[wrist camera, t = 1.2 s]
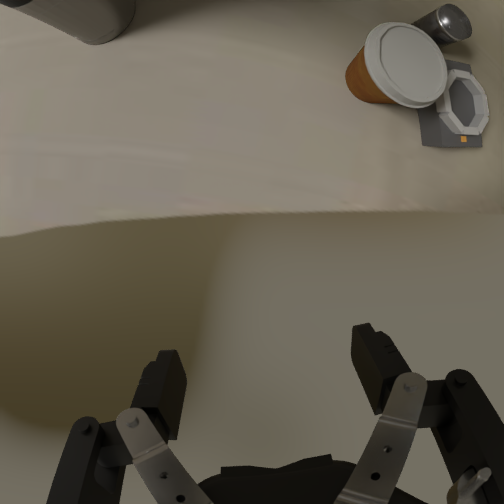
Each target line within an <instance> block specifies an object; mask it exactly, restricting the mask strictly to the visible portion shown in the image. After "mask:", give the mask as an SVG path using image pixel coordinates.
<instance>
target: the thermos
mask: <svg viewBox="0 0 504 504" xmlns="http://www.w3.org/2000/svg"><path fill="white" fill-rule="evenodd" d="M411 25H414V26H415V27H417V28H419V29H421V30H422V31H424V32H425V33H426V34H427V35H428V36H430V37H431V38H432V40H433V41H434V42H435V43H436V44H437V46H438V47H439V48H440V47H443V46H446V45H449V44H451V43H454V42H457V41H461V40H464V39H466V38H469V37H470V36H471V34H472V27H471V24H470V21H469V19H468V18H467V16H466V15H465V14H464V12H463V11H462V10H460V9H459V8H458V7H456V6H455V5H452V4H446V5H444V6H441V7H439V8H438V9H436V10H435V11H433V12H431V13H429V14H427V15H426V16H424V17H422V18H420V19H419V20H417V21H415V22H414V23H412V24H411Z"/></svg>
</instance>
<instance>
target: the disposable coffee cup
mask: <svg viewBox="0 0 504 504" xmlns="http://www.w3.org/2000/svg"><path fill="white" fill-rule="evenodd" d="M345 78H346V83H347V86H348V88H349V90H350V91H351V92H352V94H353V95H354V96H355V97H357V98H358V99H360V100H362V101H364V102H368V103H393V104H394V103H395V104H401V105H403V106H407V107H411V108H424V107H427V106H429V105H431V104H433V103H434V102H435V101H436V100H437V99H438V98H439V96H440V95H441V94H442V93H443V91H444V89H445V87H446V83H447V67H446V62H445V60H444V57H443V54H442V53H441V51H440V49H439V47H438V46H437V44H436V43H435V42H434V41H433V40H432V38H431V37H430V36H428V35H427V34H426V33H425V32H424V31H422V30H421V29H419V28H417V27H415V26H414V25H410V24H407V23H403V22H401V23H398V22H387V23H382V24H380V25H378V26H376V27H375V28H374V29H373V30H372V31H371V32H370V33H369V34H368V36H367V39H366V42H365V45H364V47H363V48H362V49H361V50H360V52H359V53H358V54H357V55H356V57H355V58H354V59H353V61H352V62H351V63H350V64H349V66H348V67H347V70H346V75H345Z"/></svg>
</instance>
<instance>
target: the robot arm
mask: <svg viewBox="0 0 504 504" xmlns="http://www.w3.org/2000/svg"><path fill="white" fill-rule="evenodd" d="M0 4H3V5H5V6H8V7H11V8H13V9H16V10H18V11H20V12H23V13H25V14H27V15H30V16H32V17H34V18H36V19H38V20H41V21H43V22H45V23H47V24H49V25H51V26H53V27H55V28H57V29H59V30H61V31H63V32H65V33H67V34H69V35H71V36H73V37H75V38H76V39H78V40H80V41H82V42H84V43H87V44H90V45H97V44H102V43H105V42H108V41H110V40H112V39H113V38H115V37H116V36H118V35H119V34H120V33H121V32H122V31H123V30H124V29H125V28H126V27H127V26H128V25H129V23H130V21H131V20H132V17H133V15H134V11H135V2H134V0H0ZM351 358H352V362H353V365H354V367H355V370H356V372H357V374H358V377H359V379H360V381H361V383H362V386H363V388H364V390H365V393H366V395H367V397H368V400H369V402H370V404H371V407H372V409H373V412H374V414H375V415H378V414H382V416H381V417H380V418H379V420H378V422H377V424H376V426H375V429H374V431H373V433H372V435H371V437H370V440H369V442H368V444H367V446H366V448H365V450H364V452H363V454H362V456H361V458H360V459H359V461H358V463H357V465H356V464H354V463H350V462H346V461H338V460H332V456H331V454H328V455H323V456H317V457H312V458H306V459H302V460H300V461H297V462H295V463H292V464H289V465H286V466H283V467H280V468H276V469H273V468H264V467H255V466H233V467H221V474H217V475H214V476H211V477H210V478H207V479H205V480H203V481H202V482H200V483H199V484H196V482H195V481H194V480H193V479H192V478H191V476H190V475H189V474H188V473H187V471H186V470H185V468H184V467H183V466H182V465H181V463H180V462H179V461H178V459H177V458H176V457H175V455H174V454H173V452H172V451H171V450H170V449H169V447H168V446H167V444H168V440H177V435H178V429H179V424H180V418H181V413H182V408H183V402H184V397H185V391H186V386H187V378H186V374H185V371H184V368H183V366H182V363H181V360H180V357H179V355H178V352H177V350H161V351H159V353H158V356H157V359H156V361H152V362H150V363H149V364H148V365H147V366H146V367H145V368H144V370H143V373H142V376H141V379H140V381H139V385H138V387H137V390H136V392H135V395H134V398H133V401H132V404H131V407H130V408H129V409H126V410H125V411H123V412H121V413H120V414H119V416H118V418H117V420H115V421H112V422H106V423H101V424H99V422H98V421H97V420H96V419H95V418H93V417H82V418H80V419H78V420H77V421H76V422H75V423H74V425H73V426H72V429H71V431H70V434H69V437H68V439H67V442H66V445H65V448H64V450H63V453H62V456H61V459H60V462H59V465H58V468H57V471H56V474H55V477H54V480H53V483H52V486H51V489H50V493H49V496H48V500H47V503H46V504H119V502H120V496H121V490H122V485H123V479H124V474H125V469H126V465H129V464H134V465H135V467H136V469H137V471H138V472H139V474H140V476H141V478H142V479H143V481H144V483H145V484H146V486H147V487H148V489H149V491H150V492H151V494H152V495H153V497H154V498H155V500H156V501H157V503H158V504H428V503H425V502H423V501H421V500H419V499H418V498H415V497H414V496H412V495H410V494H408V493H406V492H404V491H402V490H401V489H399V488H397V487H395V486H396V484H397V482H398V479H399V477H400V474H401V472H402V470H403V467H404V464H405V462H406V459H407V457H408V453H409V451H410V448H411V445H412V442H413V439H414V436H415V433H416V430H417V428H428V427H430V428H431V431H432V433H433V435H434V437H435V440H436V442H437V445H438V447H439V449H440V452H441V454H442V456H443V459H444V462H445V464H446V466H447V469H448V472H449V474H450V477H451V480H452V482H453V486H452V487H451V488H450V489H449V491H448V493H447V504H504V424H503V422H502V421H501V419H500V417H499V416H498V414H497V412H496V411H495V409H494V408H493V406H492V404H491V403H490V401H489V399H488V398H487V396H486V395H485V393H484V392H483V390H482V389H481V387H480V386H479V384H478V383H477V381H476V380H475V378H474V377H473V375H472V374H471V373H469V372H468V371H466V370H462V369H456V370H453V371H451V372H449V373H448V375H447V376H446V378H445V380H433V381H428V380H426V379H425V378H424V377H423V376H422V375H420V374H418V373H413V372H412V371H411V369H410V368H409V366H408V365H407V363H406V361H405V360H404V359H403V357H402V355H401V354H400V352H399V351H398V349H397V347H396V346H395V345H394V343H393V341H392V340H391V338H390V337H389V336H388V335H386V334H385V333H383V332H382V331H379V332H375V331H374V329H373V328H372V326H371V324H370V323H365V324H360V325H355V326H353V328H352V342H351Z"/></svg>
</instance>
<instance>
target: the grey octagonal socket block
mask: <svg viewBox="0 0 504 504" xmlns="http://www.w3.org/2000/svg"><path fill="white" fill-rule="evenodd" d="M444 60H445V59H444ZM445 62H446V67H447V83H446V87H445V89H444V91H443V93H442V94H441V95H440V96H439V98H438V99H437V100H436V101H435V102H434V103H433V104H431V105H429V106H427V107H424V108H418V114H419V121H420V129H421V138H422V145H424V146H436V147H482V138H481V133H482V131H483V129H484V127H485V126H486V124H487V122H488V120H489V118H488V117H487V116H489V109H488V103H487V96H486V94H484V92H485V91H484V89H483V88H482V86H481V85H480V84H479V82H478V81H477V80H476V78H475V77H474V76H473V75H472V72H471V67H470V65H469V64H465V63H460V62H455V61H450V60H445Z"/></svg>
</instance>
